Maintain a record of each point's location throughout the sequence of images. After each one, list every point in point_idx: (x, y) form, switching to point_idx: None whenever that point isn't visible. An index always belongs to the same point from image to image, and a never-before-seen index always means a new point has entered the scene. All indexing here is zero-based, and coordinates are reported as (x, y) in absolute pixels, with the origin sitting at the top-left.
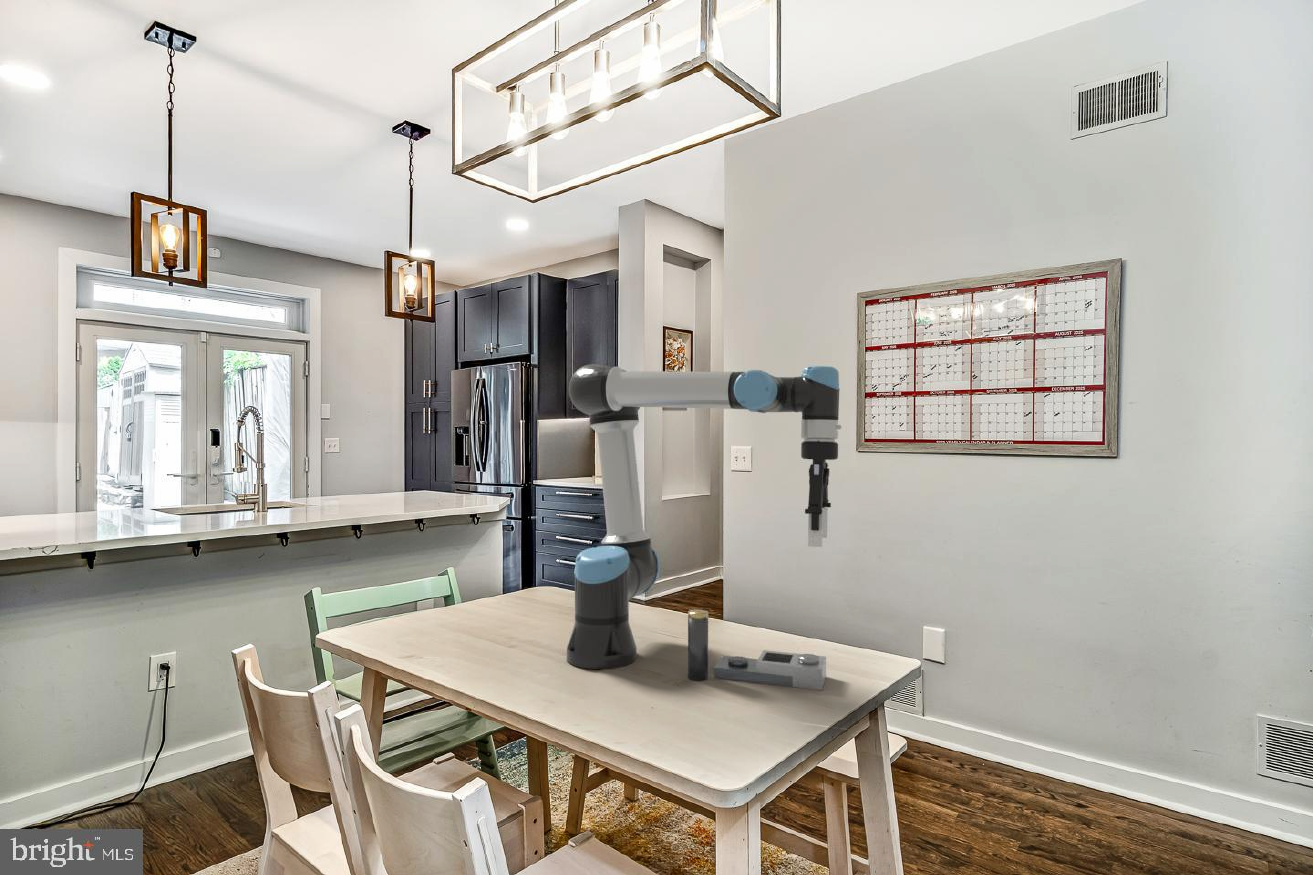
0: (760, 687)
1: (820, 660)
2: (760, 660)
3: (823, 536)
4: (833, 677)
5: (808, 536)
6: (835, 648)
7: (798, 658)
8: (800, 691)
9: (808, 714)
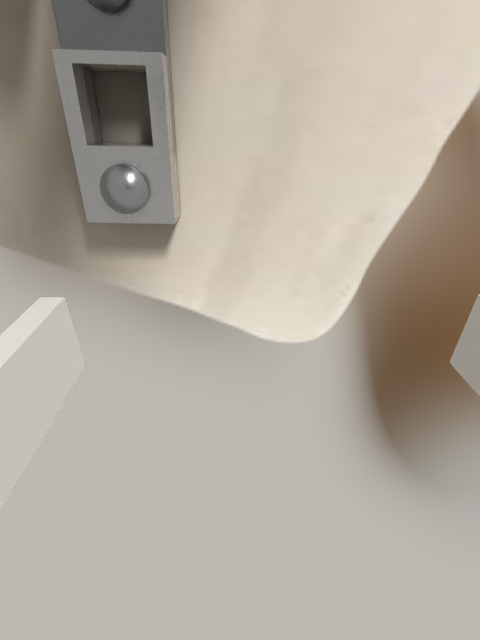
0: None
1: (142, 214)
2: (69, 59)
3: (461, 350)
4: (188, 226)
5: (5, 334)
6: (377, 218)
7: (111, 166)
8: None
9: None
